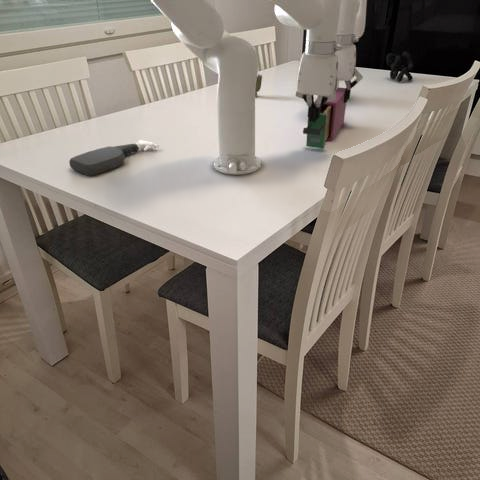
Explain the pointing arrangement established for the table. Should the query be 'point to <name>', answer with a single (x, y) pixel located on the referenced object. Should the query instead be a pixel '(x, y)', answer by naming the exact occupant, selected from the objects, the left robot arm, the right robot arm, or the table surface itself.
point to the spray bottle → (106, 157)
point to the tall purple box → (337, 112)
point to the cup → (258, 83)
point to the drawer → (319, 127)
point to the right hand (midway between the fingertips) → (334, 100)
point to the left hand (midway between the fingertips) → (313, 120)
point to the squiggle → (399, 66)
